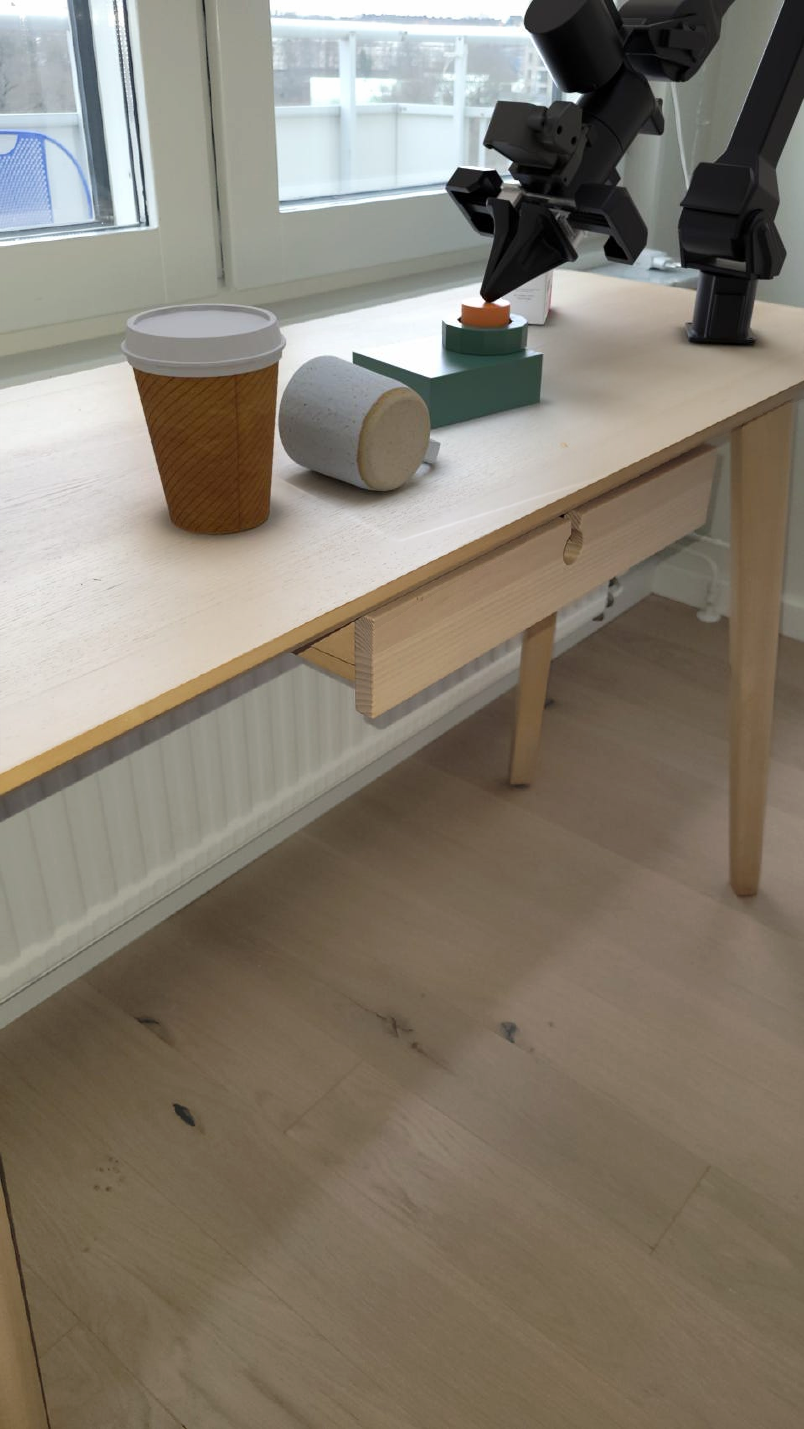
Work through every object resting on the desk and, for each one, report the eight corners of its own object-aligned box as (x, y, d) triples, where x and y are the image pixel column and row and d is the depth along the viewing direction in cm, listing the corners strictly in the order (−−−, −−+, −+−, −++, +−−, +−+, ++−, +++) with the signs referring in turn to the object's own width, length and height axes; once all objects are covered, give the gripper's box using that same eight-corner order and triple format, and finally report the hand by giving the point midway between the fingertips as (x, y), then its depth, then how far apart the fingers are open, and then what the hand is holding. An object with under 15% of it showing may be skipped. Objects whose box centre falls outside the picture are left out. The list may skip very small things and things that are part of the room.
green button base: (472, 373, 96) (475, 304, 93) (552, 399, 90) (558, 325, 87) (353, 400, 89) (351, 325, 86) (429, 430, 83) (431, 351, 79)
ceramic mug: (363, 509, 69) (363, 389, 65) (277, 478, 73) (272, 364, 69) (467, 470, 76) (473, 359, 72) (382, 444, 80) (383, 338, 76)
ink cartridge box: (507, 306, 120) (515, 159, 112) (551, 308, 119) (563, 160, 111) (497, 323, 113) (505, 168, 105) (544, 326, 112) (556, 169, 104)
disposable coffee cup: (152, 490, 72) (129, 302, 65) (295, 486, 72) (285, 300, 66) (135, 548, 64) (106, 341, 57) (295, 543, 64) (284, 338, 58)
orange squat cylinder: (485, 326, 91) (487, 295, 90) (518, 335, 88) (520, 303, 87) (450, 333, 89) (451, 301, 88) (482, 343, 86) (484, 310, 85)
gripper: (466, 55, 87) (359, 214, 87) (643, 61, 75) (519, 246, 75) (528, 158, 95) (431, 303, 95) (697, 178, 83) (585, 345, 83)
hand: (485, 298), depth 87 cm, fingers closed, pressing on orange squat cylinder
